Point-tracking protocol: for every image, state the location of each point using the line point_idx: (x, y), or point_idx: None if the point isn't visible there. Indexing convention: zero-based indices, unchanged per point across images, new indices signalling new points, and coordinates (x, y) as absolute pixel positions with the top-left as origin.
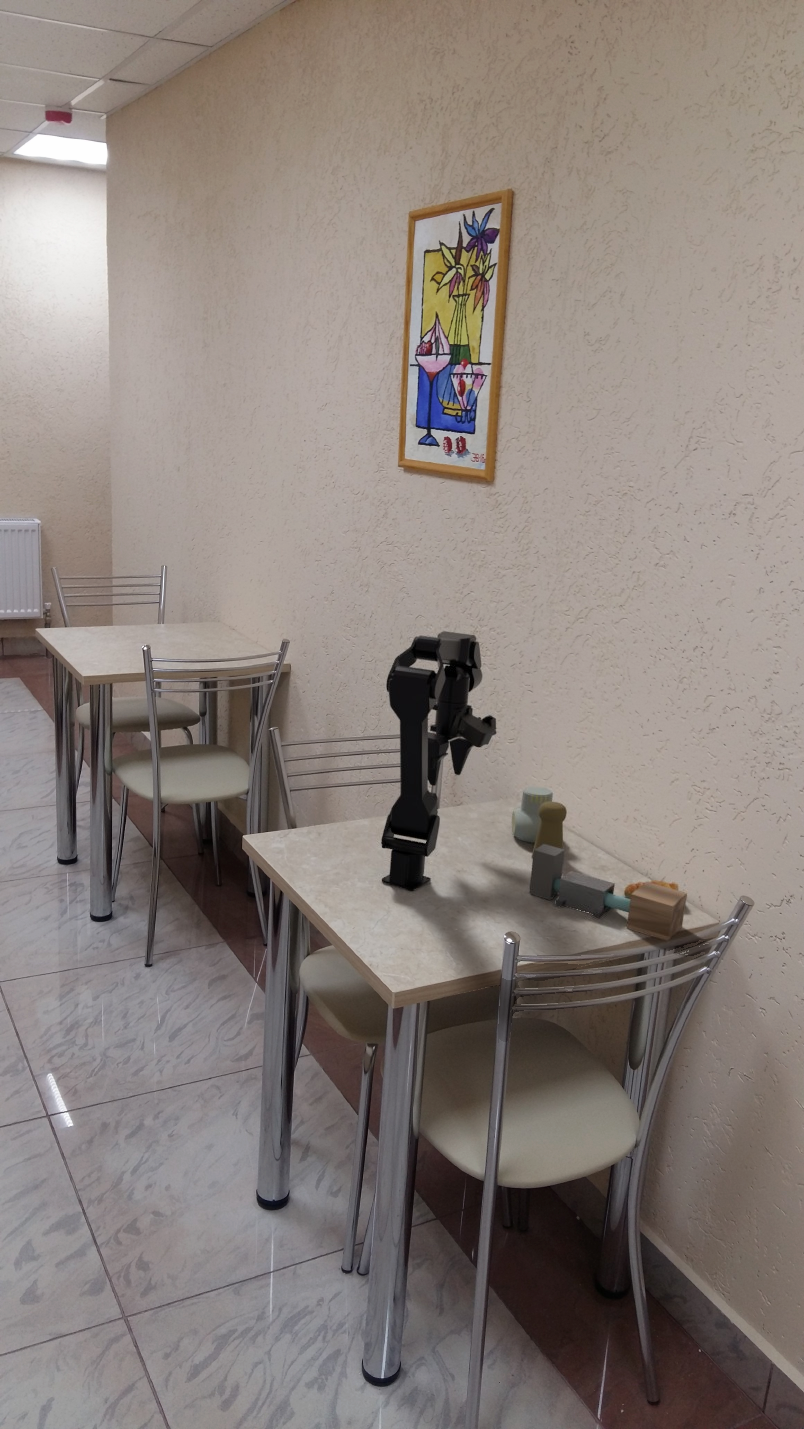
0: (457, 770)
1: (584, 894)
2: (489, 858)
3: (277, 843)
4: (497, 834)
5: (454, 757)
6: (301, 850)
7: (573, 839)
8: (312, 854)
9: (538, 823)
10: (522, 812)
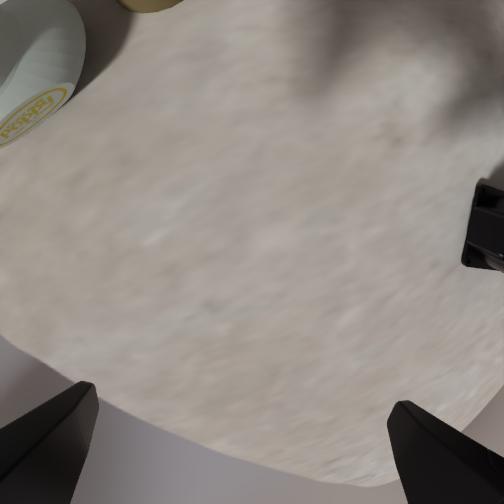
0: (88, 414)
1: None
2: (256, 94)
3: None
4: (56, 162)
5: (61, 496)
6: None
7: None
8: None
9: (53, 11)
10: (11, 78)
